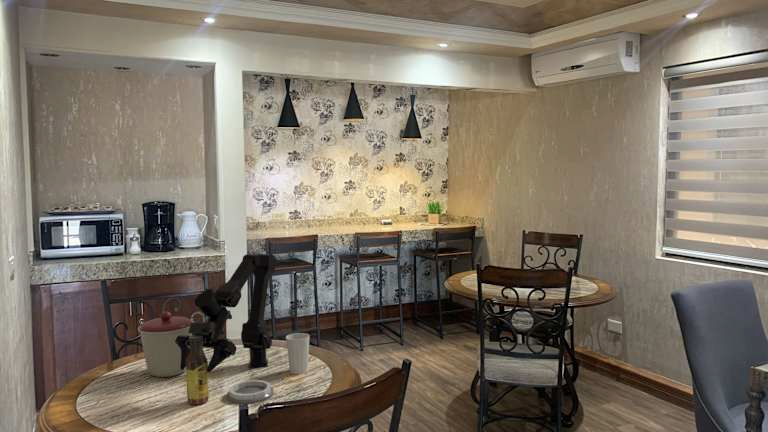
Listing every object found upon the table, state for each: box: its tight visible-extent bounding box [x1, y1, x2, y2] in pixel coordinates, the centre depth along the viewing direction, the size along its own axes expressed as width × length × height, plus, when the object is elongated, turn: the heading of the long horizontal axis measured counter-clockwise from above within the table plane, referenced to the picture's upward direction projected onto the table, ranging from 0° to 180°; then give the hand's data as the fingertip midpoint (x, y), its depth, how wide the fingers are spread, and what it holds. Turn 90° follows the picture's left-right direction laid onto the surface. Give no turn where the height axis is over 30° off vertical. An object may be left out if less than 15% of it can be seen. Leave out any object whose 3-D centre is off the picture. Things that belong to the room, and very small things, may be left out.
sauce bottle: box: [185, 334, 210, 406], centre depth 177 cm, size 7×6×20 cm
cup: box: [285, 332, 310, 375], centre depth 202 cm, size 8×8×12 cm
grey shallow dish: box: [226, 379, 275, 405], centre depth 182 cm, size 14×14×2 cm
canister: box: [137, 311, 195, 378], centre depth 203 cm, size 18×18×21 cm
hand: (194, 370), depth 176 cm, fingers open, 9 cm apart
